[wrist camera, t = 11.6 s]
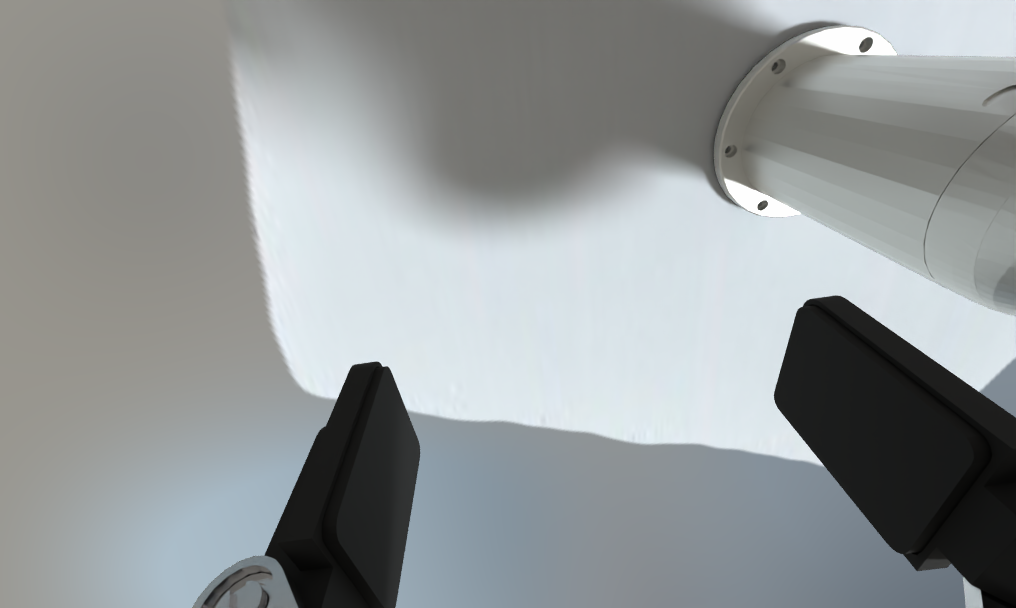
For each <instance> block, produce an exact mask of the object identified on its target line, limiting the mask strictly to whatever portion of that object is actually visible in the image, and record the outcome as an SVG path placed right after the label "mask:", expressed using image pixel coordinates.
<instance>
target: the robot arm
mask: <svg viewBox="0 0 1016 608" xmlns="http://www.w3.org/2000/svg"><path fill="white" fill-rule="evenodd" d="M773 64H774V66H773ZM772 66H773V68H772ZM727 147H728V148H727ZM726 148H727V150H726ZM725 150H726V151H725ZM714 165H715V172H716V175H717V178H718V181H719V184H720V186H721V187H722V189H723V190H724V192H725V194H726V195H727V196H728V197H729V198H730V199H731V200H732V201H733V202H734V203H735V204H737V205H739V206H740V207H742V208H743V209H745V210H747V211H749V212H751V213H753V214H756V215H760V216H766V217H788V216H793V215H797V214H803V215H805V216H807V217H809V218H811V219H813V220H815V221H817V222H819V223H820V224H822V225H824V226H826V227H828V228H830V229H832V230H834V231H836V232H838V233H840V234H842V235H844V236H846V237H848V238H849V239H851V240H853V241H855V242H857V243H859V244H861V245H863V246H865V247H867V248H869V249H871V250H873V251H875V252H876V253H878V254H880V255H882V256H884V257H886V258H888V259H890V260H892V261H894V262H896V263H898V264H900V265H902V266H904V267H905V268H907V269H909V270H911V271H913V272H915V273H917V274H919V275H921V276H923V277H925V278H927V279H929V280H931V281H933V282H935V283H936V284H938V285H940V286H942V287H945V288H947V289H949V290H951V291H953V292H955V293H957V294H959V295H961V296H963V297H965V298H967V299H969V300H971V301H973V302H975V303H978V304H980V305H982V306H985V307H987V308H989V309H992V310H995V311H998V312H1002V313H1005V314H1008V315H1013V316H1016V57H977V56H919V55H898V54H897V52H896V51H895V49H894V48H893V46H892V45H891V43H890V42H889V41H887V40H886V39H885V38H884V37H882V36H881V35H880V34H879V33H877V32H875V31H872V30H869V29H867V28H864V27H859V26H847V25H842V26H829V27H823V28H819V29H815V30H811V31H807V32H805V33H803V34H801V35H798V36H796V37H794V38H792V39H790V40H788V41H786V42H785V43H783V44H782V45H780V46H779V47H777V48H776V49H774V50H773V51H771V52H770V53H769V54H768V55H766V56H765V57H764V58H763V59H762V60H761V61H760V62H759V63H758V64H757V65H755V66H754V67H753V68H752V70H751V71H750V72H749V73H748V74H747V76H746V77H745V78H744V79H743V80H742V82H741V83H740V84H739V85H738V87H737V89H736V90H735V92H734V94H733V95H732V97H731V98H730V100H729V102H728V103H727V106H726V108H725V110H724V113H723V115H722V117H721V119H720V122H719V126H718V130H717V133H716V137H715V145H714ZM774 400H775V403H776V405H777V407H778V409H779V410H780V411H781V413H782V414H783V415H784V416H785V418H786V419H787V420H788V421H789V423H790V424H791V425H792V426H793V428H794V429H795V430H796V431H797V433H798V434H799V435H800V436H801V437H802V439H803V440H804V441H805V442H806V444H807V445H808V446H809V447H810V449H811V450H812V451H813V452H814V454H815V455H816V456H817V457H818V458H819V460H820V461H821V462H822V463H823V465H824V466H825V467H826V468H827V470H828V471H829V472H830V473H831V475H832V476H833V477H834V478H835V479H836V481H837V482H838V483H839V484H840V486H841V487H842V488H843V489H844V491H845V492H846V493H847V494H848V496H849V497H850V498H851V499H852V501H853V502H854V503H855V504H856V506H857V507H858V508H859V509H860V510H861V512H862V513H863V514H864V515H865V517H866V518H867V519H868V520H869V522H870V523H871V524H872V525H873V527H874V528H875V529H876V530H877V532H879V534H880V535H881V536H882V538H883V539H884V540H885V541H886V543H887V544H888V545H889V546H890V547H891V548H892V549H893V550H895V551H896V552H898V553H900V554H903V555H904V556H905V557H906V558H907V559H908V561H909V562H910V563H911V564H912V566H913V567H914V568H915V569H916V570H917V571H922V570H930V569H939V568H947V567H948V566H949V565H950V564H951V563H952V564H953V566H954V567H955V568H956V569H957V570H958V571H959V572H960V573H961V574H962V575H963V583H964V593H965V603H966V608H1016V418H1015V417H1014V416H1013V415H1011V414H1010V413H1008V412H1007V411H1005V410H1004V409H1003V408H1001V407H1000V406H998V405H997V404H995V403H994V402H993V401H991V400H990V399H988V398H986V397H985V396H984V395H983V394H981V393H980V392H978V391H977V390H975V389H974V388H973V387H971V386H970V385H968V384H967V383H965V382H964V381H963V380H961V379H960V378H958V377H957V376H955V375H954V374H953V373H951V372H950V371H948V370H947V369H945V368H944V367H943V366H941V365H940V364H938V363H937V362H935V361H934V360H933V359H931V358H930V357H928V356H927V355H925V354H924V353H923V352H921V351H920V350H918V349H917V348H915V347H914V346H913V345H911V344H910V343H908V342H907V341H905V340H904V339H902V338H901V337H900V336H898V335H897V334H895V333H894V332H892V331H891V330H890V329H888V328H887V327H885V326H884V325H882V324H881V323H880V322H878V321H877V320H875V319H874V318H872V317H871V316H870V315H868V314H867V313H865V312H864V311H862V310H861V309H860V308H858V307H857V306H855V305H854V304H852V303H851V302H850V301H848V300H847V299H845V298H843V297H841V296H829V297H822V298H815V299H810V300H807V301H806V302H805V303H804V305H803V307H801V308H799V309H798V311H797V313H796V316H795V320H794V324H793V327H792V331H791V334H790V338H789V342H788V345H787V349H786V352H785V356H784V360H783V363H782V367H781V370H780V374H779V378H778V381H777V385H776V388H775V392H774ZM419 460H420V445H419V441H418V438H417V436H416V433H415V431H414V428H413V426H412V423H411V421H410V418H409V416H408V413H407V411H406V408H405V406H404V403H403V400H402V398H401V395H400V393H399V390H398V388H397V385H396V383H395V380H394V378H393V375H392V373H391V370H390V368H389V367H387V366H386V367H382V365H381V364H380V363H379V362H370V363H363V364H356V365H353V366H352V367H351V369H350V371H349V373H348V376H347V378H346V380H345V383H344V385H343V387H342V390H341V392H340V394H339V397H338V399H337V402H336V404H335V406H334V409H333V411H332V413H331V416H330V418H329V420H328V423H327V425H326V427H324V428H322V429H321V430H320V431H319V433H318V435H317V436H316V439H315V441H314V443H313V446H312V448H311V450H310V452H309V455H308V457H307V459H306V462H305V464H304V466H303V468H302V471H301V473H300V476H299V478H298V480H297V482H296V485H295V487H294V489H293V491H292V494H291V496H290V498H289V500H288V503H287V505H286V507H285V510H284V512H283V514H282V516H281V519H280V521H279V523H278V526H277V528H276V530H275V532H274V535H273V537H272V539H271V542H270V544H269V546H268V549H267V551H266V553H265V556H253V557H250V558H247V559H244V560H241V561H239V562H238V563H236V564H234V565H232V566H231V567H229V568H228V569H226V570H225V571H224V572H222V573H221V574H220V575H219V576H218V577H217V578H215V579H214V580H213V581H212V582H211V583H210V584H209V585H208V587H207V588H206V589H205V590H204V591H203V592H202V594H201V595H200V596H199V597H198V599H197V601H196V602H195V604H194V606H193V607H192V608H395V606H396V601H397V595H398V589H399V583H400V576H401V570H402V564H403V558H404V552H405V546H406V540H407V534H408V527H409V521H410V515H411V509H412V502H413V496H414V490H415V484H416V478H417V471H418V466H419Z"/></svg>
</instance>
